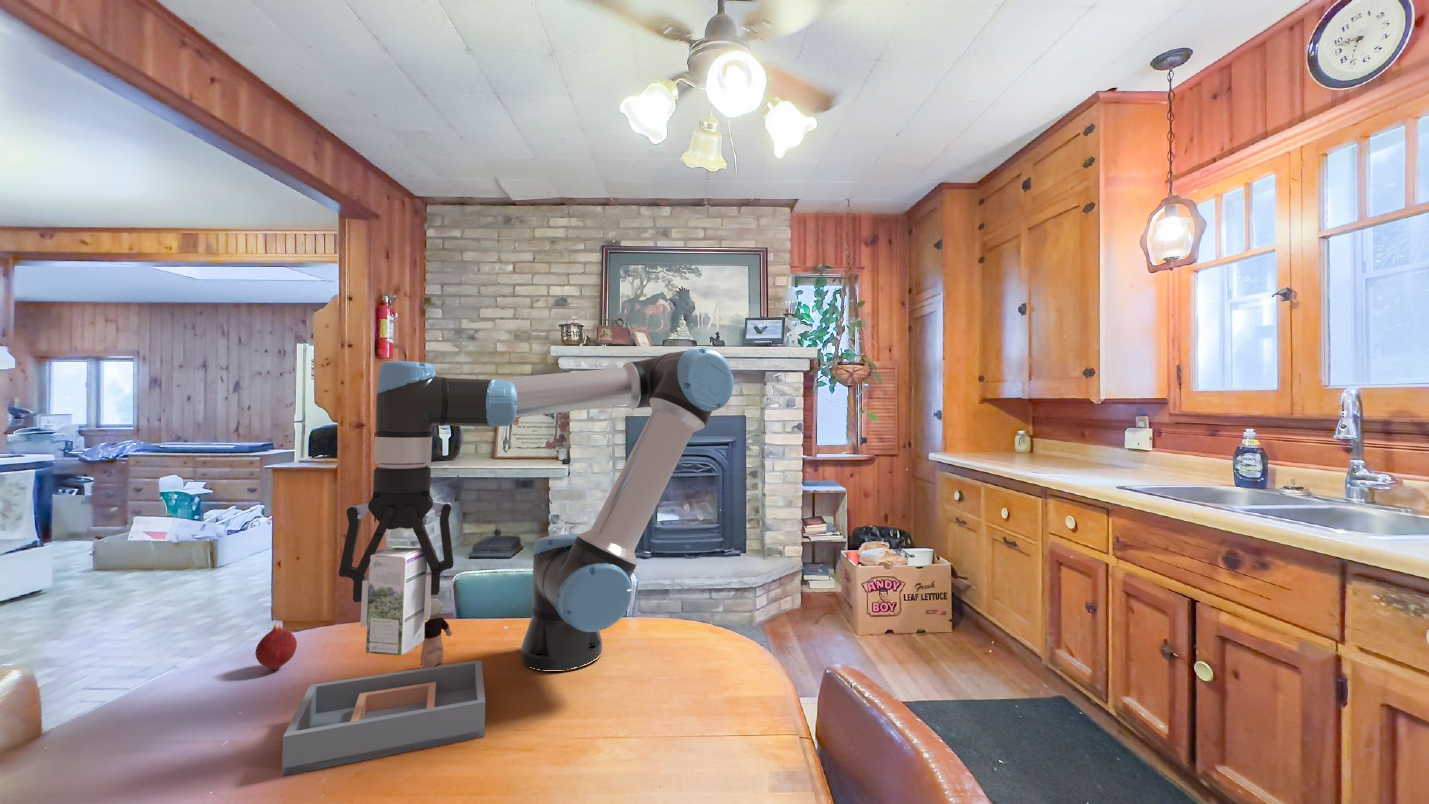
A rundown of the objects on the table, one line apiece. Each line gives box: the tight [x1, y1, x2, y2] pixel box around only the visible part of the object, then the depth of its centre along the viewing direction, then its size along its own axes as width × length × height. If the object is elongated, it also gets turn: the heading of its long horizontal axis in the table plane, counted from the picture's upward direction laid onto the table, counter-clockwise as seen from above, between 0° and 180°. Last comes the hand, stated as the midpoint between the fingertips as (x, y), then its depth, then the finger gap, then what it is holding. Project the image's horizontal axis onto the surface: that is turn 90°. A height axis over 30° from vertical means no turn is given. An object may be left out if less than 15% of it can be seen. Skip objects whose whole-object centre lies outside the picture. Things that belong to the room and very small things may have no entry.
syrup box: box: [365, 545, 428, 656], centre depth 85 cm, size 6×6×14 cm
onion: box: [255, 623, 298, 671], centre depth 102 cm, size 6×6×8 cm
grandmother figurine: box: [414, 598, 453, 669], centre depth 104 cm, size 8×4×13 cm, turn 164°
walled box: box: [281, 659, 486, 777], centre depth 85 cm, size 24×15×5 cm, turn 114°
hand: (396, 619), depth 85 cm, fingers closed on syrup box, 7 cm apart
